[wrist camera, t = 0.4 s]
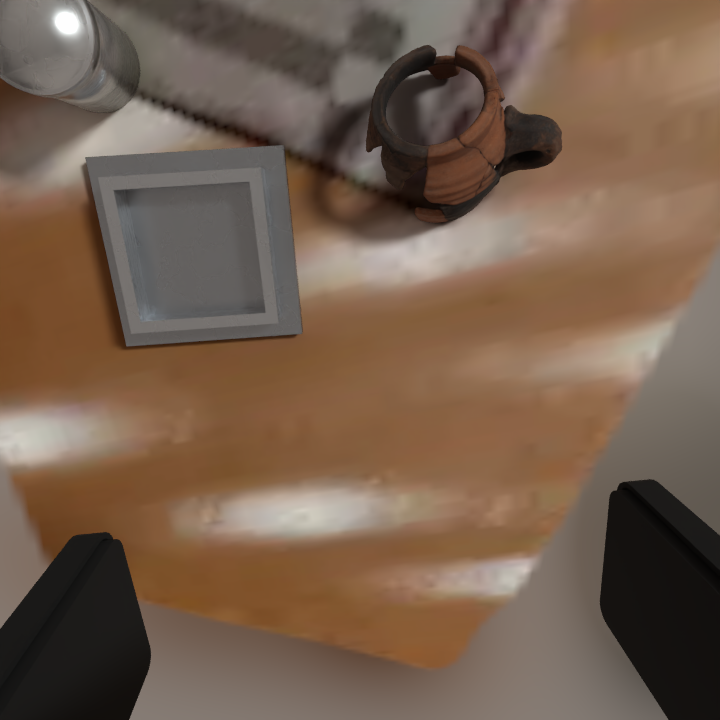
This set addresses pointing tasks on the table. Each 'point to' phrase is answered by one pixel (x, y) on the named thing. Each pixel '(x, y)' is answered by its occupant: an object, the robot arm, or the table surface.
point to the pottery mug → (460, 138)
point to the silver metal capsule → (67, 53)
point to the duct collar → (199, 243)
